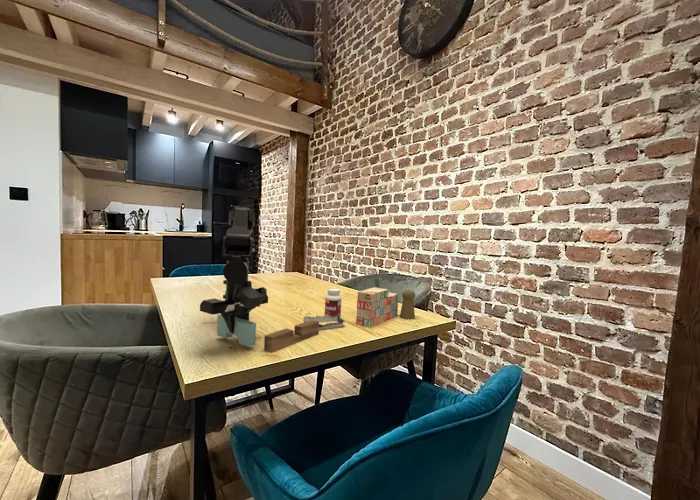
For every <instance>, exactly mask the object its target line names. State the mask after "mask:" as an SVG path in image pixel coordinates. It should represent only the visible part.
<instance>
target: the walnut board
mask: <svg viewBox="0 0 700 500" xmlns="http://www.w3.org/2000/svg"><path fill="white" fill-rule="evenodd" d="M319 324H320V322H319V321H315V320H310V321H307V322H304V321H303V322H302V323H301V322H300V323H299V324H294V327H293V328H294V329H290V328H287V327H286V328H284V329H280V330H276V331H274V332H271V333H268V334H265V335H264V341H263V342H264V344H263V350H264V351H267V352H269V353H274V352H276V351H279V350H282V349H284V348H288V347H289V346H292V345H294V344H297V343H299V342H301V341H304V340H307V339H309V338H312V337H314V336H316V335H319V334H320V333H319V331H320V330H319Z"/></svg>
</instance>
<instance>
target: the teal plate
mask: <svg viewBox="0 0 700 500" xmlns="http://www.w3.org/2000/svg"><path fill="white" fill-rule="evenodd" d="M216 320H217V321H216V323H217V325H216V328H217V329H216V336H218V337H220V338H223V339H229V338H232V337H233V336H234V337H238V344H240V345H242V346H246V347H248V348H249V347H253V346H255V345H256V341H257V340H256V339H257V338H256V337H257V335H256V334H257V322H254V321H250V320H249V321H247V320H244V319H241V318H237V317H235V325H234V333H230V331H229V329H228V327H227V325H226V323H225V320H224V318H223V317H222V315H221V314H220V313H219V314H217V319H216Z"/></svg>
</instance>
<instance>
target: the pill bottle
mask: <svg viewBox="0 0 700 500" xmlns="http://www.w3.org/2000/svg"><path fill="white" fill-rule="evenodd" d="M340 293H341V289H339V288H328V289H327V294H326V295H325V298H324V299H325V300H324V301H325V302H324V316H326V315H328V316H330V317H331V318H333V317H334V316H337V315H339V316H340V317H341V315H342V313H341V312H342V296H341V295H340Z"/></svg>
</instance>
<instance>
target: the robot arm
mask: <svg viewBox="0 0 700 500" xmlns="http://www.w3.org/2000/svg"><path fill="white" fill-rule="evenodd" d="M255 220H256V213H255V212H253V211H252V210H251V209H250V208H249V207H248V206H234V207H233V209H232V210H230V211H229V214H228V225H229V226H230V228H228V229H227V230H226V233H225V235H224V236H223V238H222V239H223V241H222V249H221V251H222V252H221V258H227V260H226V264H225V266H224V268H223V271H222V273H223V278H224V279H223V281H222V283H223V285H225V293H224V294H222V299H223V300H222V299H217V298H215V297H214V298H210V299H203V300H201V302H200V304H199V312H203V313H206V314H209V315H220V314H221V315H222V317H223V318H224V320H225V323H226V325H227V327H228V329H229V331H230V333H234V325H235V317H237V318H241V319H244V320H247V321H250V312H251V311H253V309H256V308H257V307H260V306H261V305H266V304H268V303H269V296H268V294H267V293H268V292H267V291H268V290H267V288H265V286H264V287H263V286H262V287H258V288H253V287H252V284H253V283H252V281H251V280H249V263H250V262H249V259H252V258H253V256H255V254H256V253H255V252H256V249H255V246H256V244H255V243H256V240H255V239H254V236H251V235H252V233H253V228H254V227H255V223H256V222H255Z"/></svg>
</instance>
